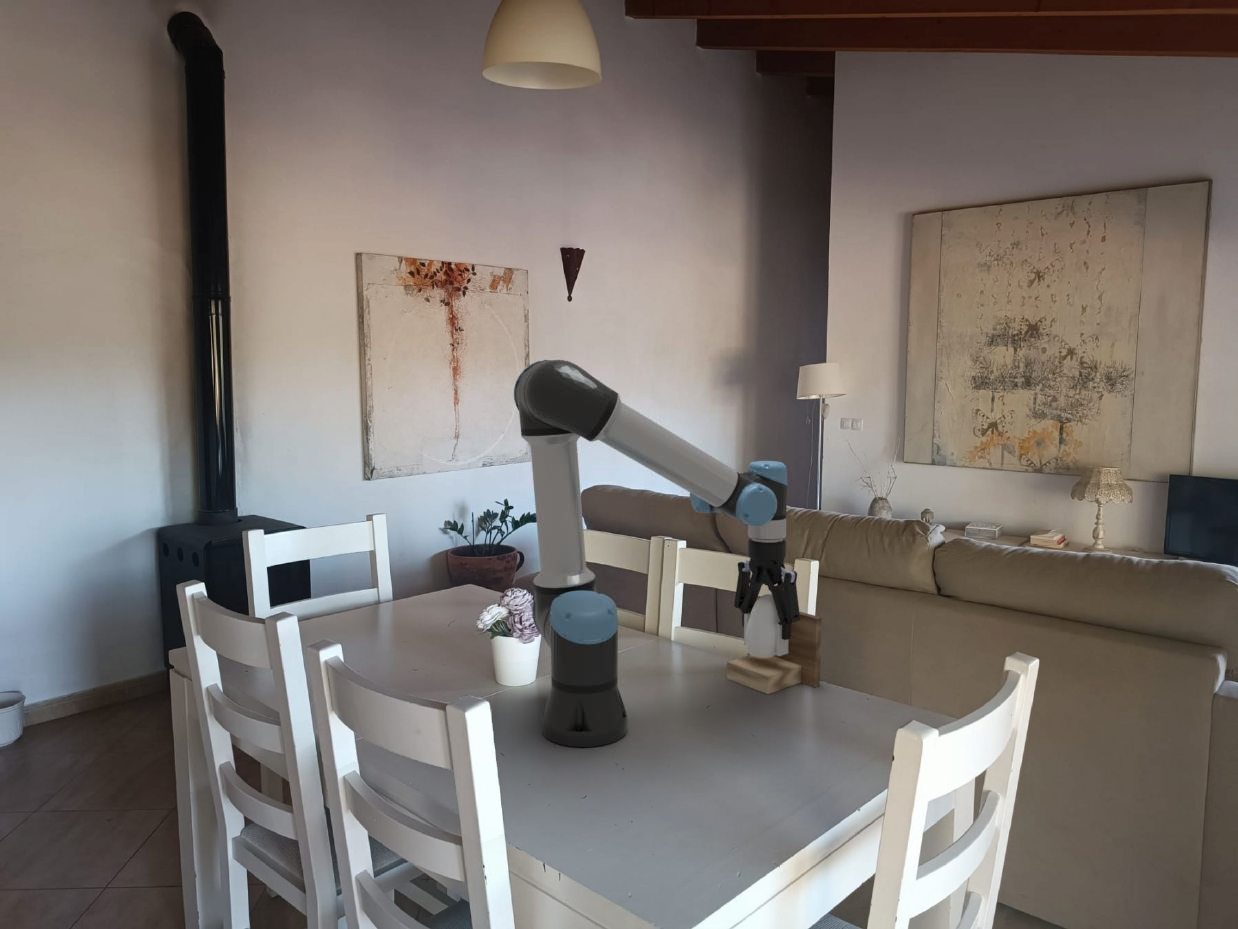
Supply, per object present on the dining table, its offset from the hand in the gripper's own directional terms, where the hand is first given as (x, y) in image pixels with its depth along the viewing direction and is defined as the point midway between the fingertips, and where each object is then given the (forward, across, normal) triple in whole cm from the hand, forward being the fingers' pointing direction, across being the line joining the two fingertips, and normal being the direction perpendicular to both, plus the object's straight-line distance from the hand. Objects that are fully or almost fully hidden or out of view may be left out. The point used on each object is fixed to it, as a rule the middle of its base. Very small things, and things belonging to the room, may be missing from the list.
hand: (765, 648), depth 174 cm
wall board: (+7, 0, 0) cm, 7 cm away
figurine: (+1, 0, 0) cm, 1 cm away
